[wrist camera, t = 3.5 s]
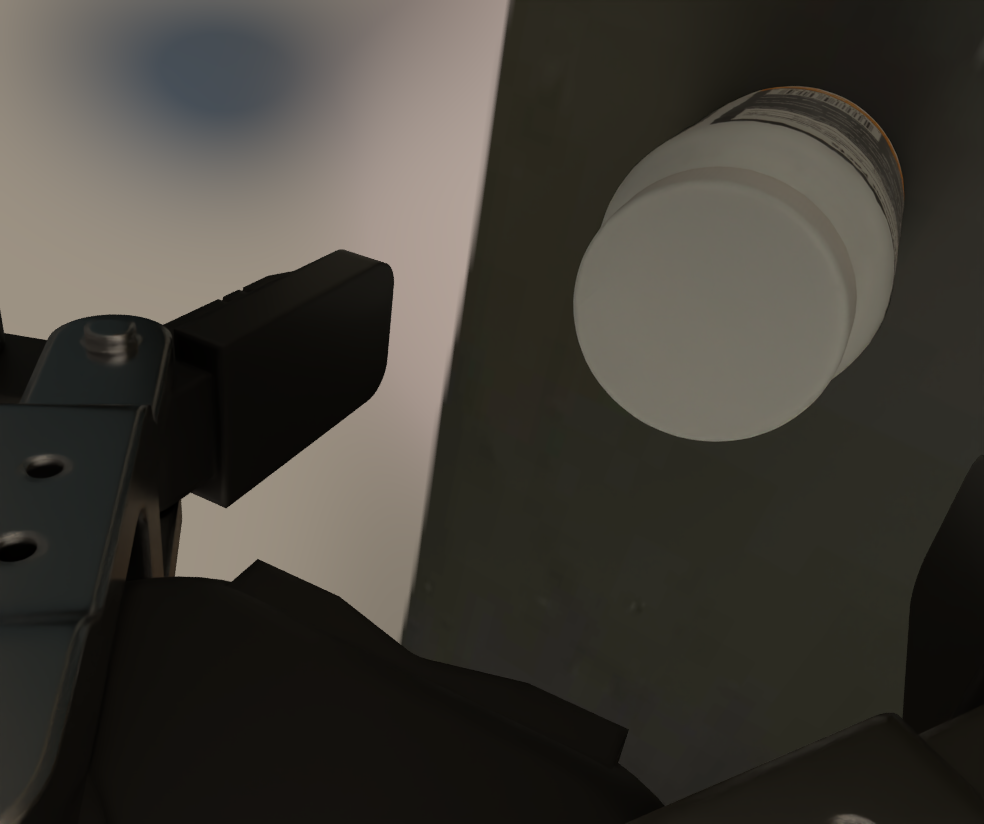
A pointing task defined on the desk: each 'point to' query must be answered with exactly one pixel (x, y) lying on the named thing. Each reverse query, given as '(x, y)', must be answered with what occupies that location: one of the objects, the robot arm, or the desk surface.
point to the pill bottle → (743, 265)
